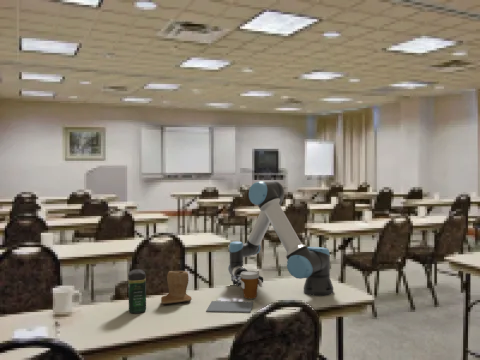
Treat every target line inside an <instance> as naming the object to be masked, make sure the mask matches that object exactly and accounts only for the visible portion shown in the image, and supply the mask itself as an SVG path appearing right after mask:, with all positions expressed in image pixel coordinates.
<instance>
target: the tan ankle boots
mask: <svg viewBox="0 0 480 360" xmlns="http://www.w3.org/2000/svg"><path fill="white" fill-rule="evenodd" d="M189 281H190V280H189V273H188V271H185V270H173V271H172V270H171V271H170V270H169V271H168V273H167V276H166V282H167V287H168V294H166V295H162V296H161V299H160V301H161V305H169V304H177V303H184V302H185V303H186V302H189V301H192V296H190V295H188V294H187V288H188V285H189Z"/></svg>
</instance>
